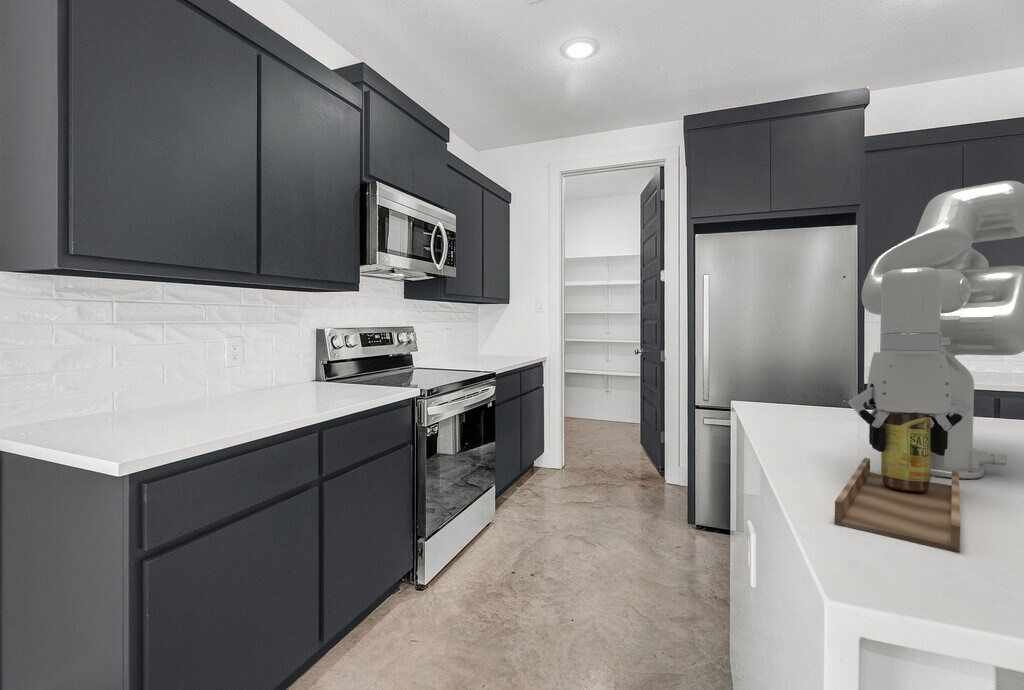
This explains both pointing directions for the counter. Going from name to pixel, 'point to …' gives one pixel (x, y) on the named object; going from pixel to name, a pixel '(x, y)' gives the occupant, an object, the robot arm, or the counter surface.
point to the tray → (901, 509)
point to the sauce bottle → (906, 452)
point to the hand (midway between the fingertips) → (907, 451)
